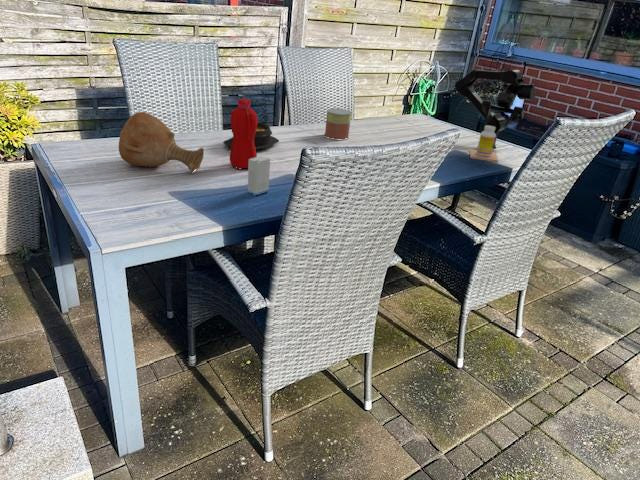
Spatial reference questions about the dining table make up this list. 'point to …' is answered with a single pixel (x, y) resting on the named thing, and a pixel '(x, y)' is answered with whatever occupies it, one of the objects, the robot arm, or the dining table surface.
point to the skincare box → (258, 174)
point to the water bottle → (243, 134)
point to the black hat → (259, 137)
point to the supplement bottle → (486, 141)
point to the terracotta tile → (488, 158)
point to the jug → (153, 144)
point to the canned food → (337, 123)
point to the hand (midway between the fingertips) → (494, 124)
